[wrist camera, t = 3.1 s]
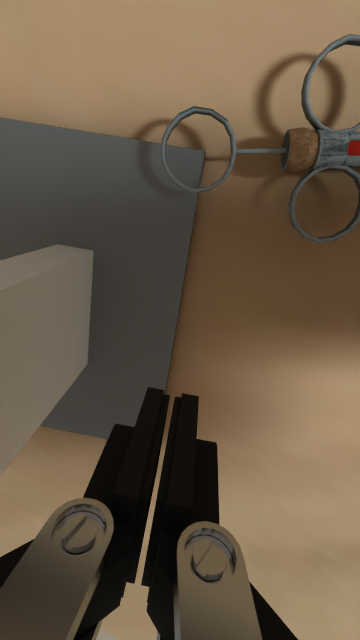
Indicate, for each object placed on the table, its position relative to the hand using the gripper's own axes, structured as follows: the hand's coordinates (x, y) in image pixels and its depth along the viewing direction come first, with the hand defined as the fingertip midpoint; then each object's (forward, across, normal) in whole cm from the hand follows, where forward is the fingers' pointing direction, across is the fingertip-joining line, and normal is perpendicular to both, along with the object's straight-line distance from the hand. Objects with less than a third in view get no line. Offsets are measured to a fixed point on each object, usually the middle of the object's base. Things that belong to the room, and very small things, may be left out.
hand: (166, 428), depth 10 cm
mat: (+9, +12, 0) cm, 15 cm away
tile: (+8, +7, 0) cm, 11 cm away
